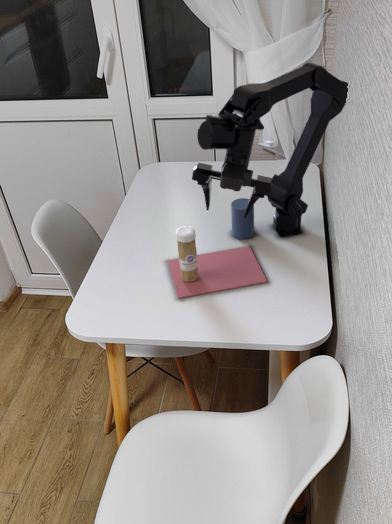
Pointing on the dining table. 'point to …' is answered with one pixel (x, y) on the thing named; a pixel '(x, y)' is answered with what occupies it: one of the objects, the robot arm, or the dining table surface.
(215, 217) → the dining table surface
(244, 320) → the dining table surface
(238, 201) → the blue canister
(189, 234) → the sprinkles bottle
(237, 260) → the rose mat
